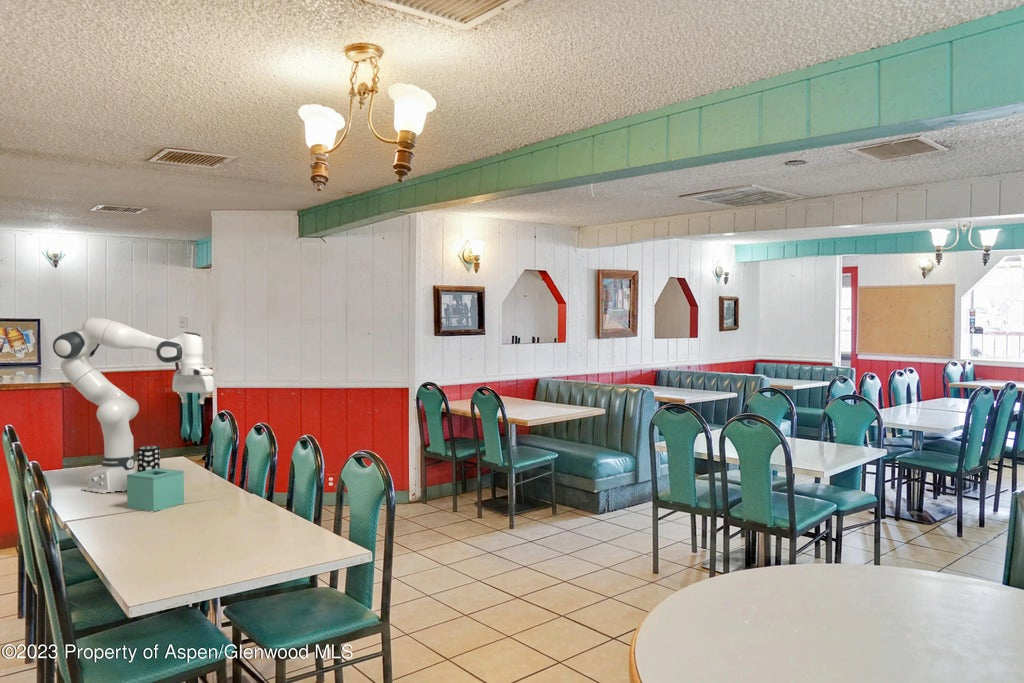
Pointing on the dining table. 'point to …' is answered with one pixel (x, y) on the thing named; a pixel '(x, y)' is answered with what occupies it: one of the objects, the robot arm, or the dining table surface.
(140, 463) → the white-spotted black cylinder
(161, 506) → the box
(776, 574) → the dining table surface
